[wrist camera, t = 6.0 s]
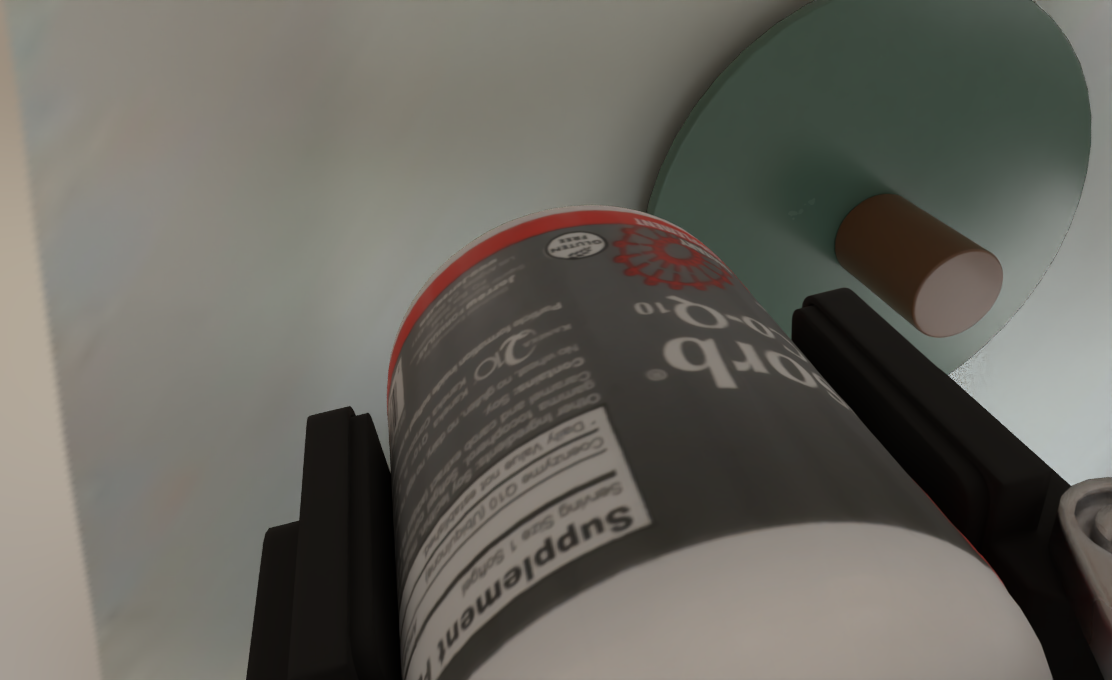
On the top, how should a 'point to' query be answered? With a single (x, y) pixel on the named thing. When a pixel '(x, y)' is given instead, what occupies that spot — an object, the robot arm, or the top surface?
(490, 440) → the pill bottle
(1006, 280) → the lid
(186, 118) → the top surface
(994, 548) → the robot arm
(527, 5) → the top surface
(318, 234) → the top surface
